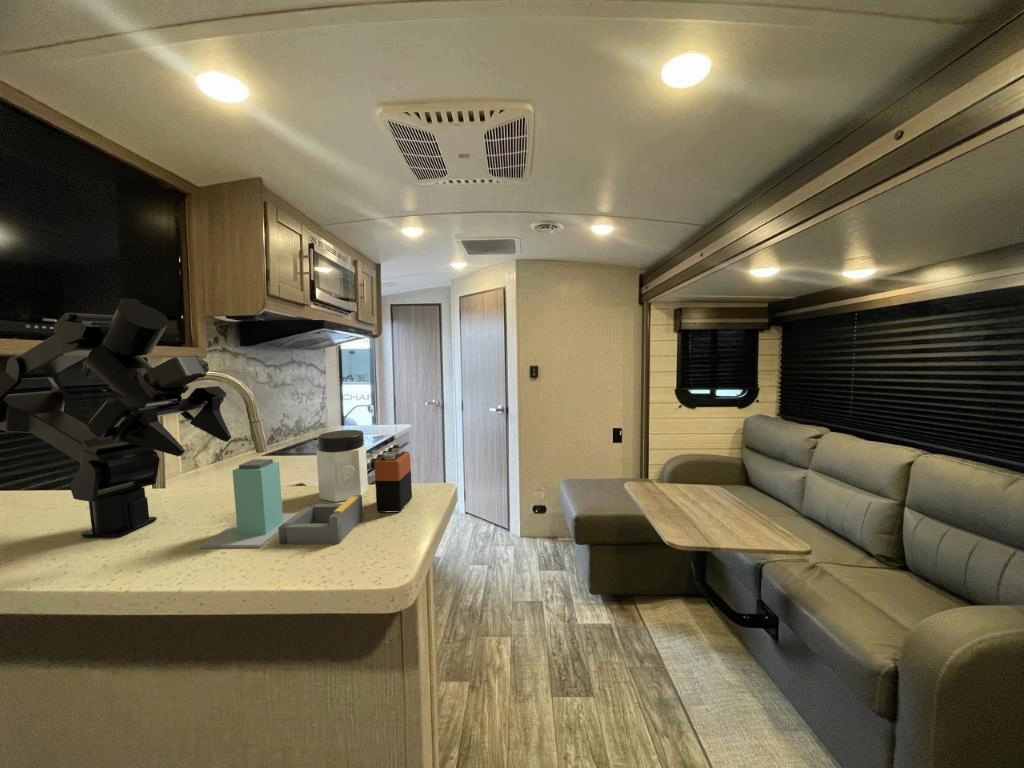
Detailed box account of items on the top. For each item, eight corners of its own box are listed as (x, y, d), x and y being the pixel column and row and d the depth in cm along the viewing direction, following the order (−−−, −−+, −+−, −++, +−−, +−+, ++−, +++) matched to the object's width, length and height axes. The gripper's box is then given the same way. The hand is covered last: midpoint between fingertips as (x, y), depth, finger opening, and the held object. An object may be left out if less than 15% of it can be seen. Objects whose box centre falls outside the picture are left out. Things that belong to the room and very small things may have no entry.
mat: (199, 547, 58) (199, 545, 58) (251, 516, 69) (250, 514, 69) (260, 547, 58) (260, 544, 58) (302, 516, 69) (302, 513, 69)
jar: (323, 505, 74) (318, 440, 73) (316, 493, 80) (312, 433, 79) (373, 495, 78) (370, 434, 77) (363, 484, 85) (360, 427, 84)
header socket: (279, 543, 59) (277, 515, 59) (311, 518, 68) (309, 493, 68) (338, 543, 59) (336, 514, 58) (363, 518, 68) (361, 493, 67)
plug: (237, 534, 62) (232, 466, 61) (256, 522, 66) (251, 458, 65) (266, 534, 61) (260, 466, 61) (283, 522, 66) (278, 458, 65)
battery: (375, 513, 70) (372, 456, 69) (390, 498, 77) (387, 446, 76) (400, 513, 70) (397, 456, 69) (412, 498, 76) (410, 446, 75)
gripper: (99, 336, 52) (189, 419, 53) (211, 340, 71) (277, 401, 71) (48, 398, 53) (137, 479, 54) (172, 385, 72) (237, 446, 72)
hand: (207, 446), depth 63 cm, fingers open, 9 cm apart
